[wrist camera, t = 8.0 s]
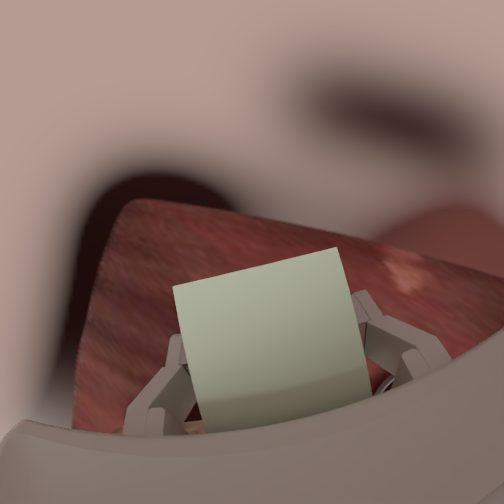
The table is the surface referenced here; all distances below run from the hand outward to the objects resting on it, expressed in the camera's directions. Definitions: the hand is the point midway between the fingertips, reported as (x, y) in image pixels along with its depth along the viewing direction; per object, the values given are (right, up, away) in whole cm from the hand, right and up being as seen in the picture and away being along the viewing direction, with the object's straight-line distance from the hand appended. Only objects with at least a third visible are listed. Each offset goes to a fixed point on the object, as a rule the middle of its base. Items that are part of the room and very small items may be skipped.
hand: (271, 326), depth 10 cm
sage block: (+1, -2, +4) cm, 4 cm away
